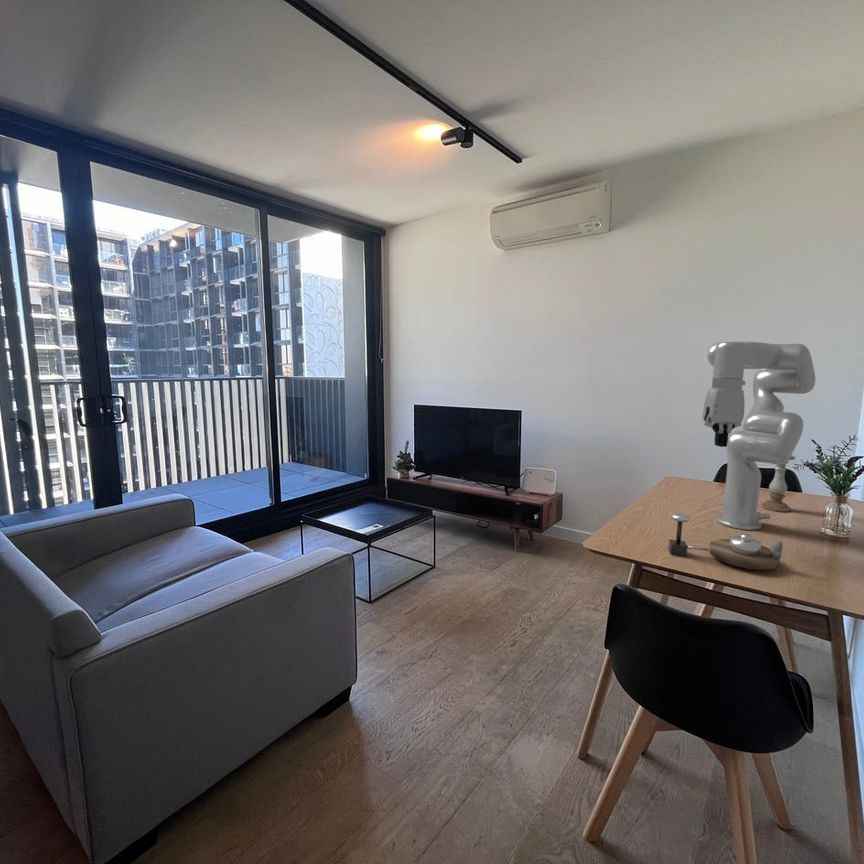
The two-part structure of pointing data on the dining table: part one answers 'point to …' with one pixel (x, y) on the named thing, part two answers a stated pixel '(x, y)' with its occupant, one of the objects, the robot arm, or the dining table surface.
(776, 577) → the dining table surface
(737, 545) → the lid
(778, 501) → the candle holder
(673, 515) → the lever with ball knob
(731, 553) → the turntable
